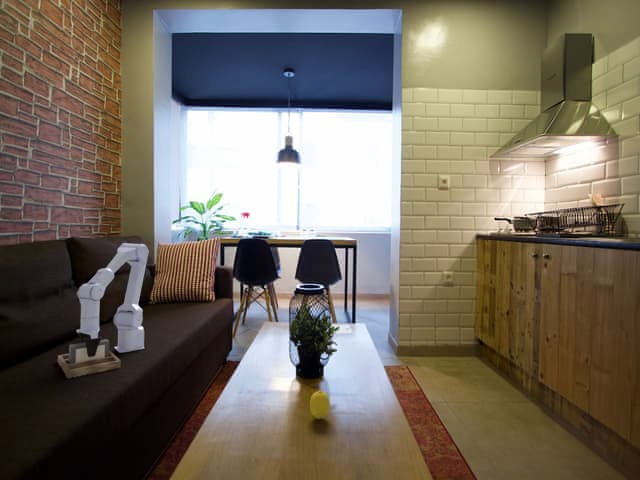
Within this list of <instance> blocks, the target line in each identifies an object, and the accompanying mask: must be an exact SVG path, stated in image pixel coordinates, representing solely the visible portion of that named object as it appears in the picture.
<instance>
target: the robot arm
mask: <svg viewBox="0 0 640 480" xmlns="http://www.w3.org/2000/svg"><path fill="white" fill-rule="evenodd" d="M149 252H150V251H149V249H148V247H147V245H146V244H143V243H127V242H123V243H122V244H120V246H119V247H118V248H117V253H116V254H115V256H114V257H113V258H112V259H111V261H110V262H109V263H108V264H107V266H106V267H105V268H100V269H98V270H97V271H96V273H95V275H94V276H93V277H92V278H91V279H90V280H89V281H88V282H87V283H83V284H82V285H81V286H79V288H78V291H77V292H76V295H77V297H78V299H79V303H80V328H79V329H76V333H77V335H78V336H79V338H80V342H81V343H85V344H86V348H87V355H88V357H93V356H95V355H96V351H97V348H98V345H99V343H100V341H101V340H103V336H99V331H100V306H101V305H100V303H101V301H100V300H101V299H102V298H103V296H105V291H106V290H107V289H106V288H107V286H108V285H109V284H110V283H111V282H112V281H113V280H114V278H115V273H116V272H117V271H118V270H119V269H120V268H121V267H122V266H123V265H124V264H125V263H127V264H129V265H130V272H129V277H128V282H127V286H126V291H125V296H124V301H123V303H122V305H120V306H119V307H118V308H117V310H116V313H115V314H114V316H113V324H114V325H115V326H116V329H117V346H114V350H116V351H117V352H118V353H127V352H132V351H138V350H143V349H145V329H144V327H143V326H142V323H143V319H144V318H143V317H144V316H143V312H144V311H143V310H144V309H143V308H141V307H140V305H139V301H140V296H141V292H142V287H143V281H144V277H145V273H146V272H145V271H146V267H147V263H148V257H149Z"/></svg>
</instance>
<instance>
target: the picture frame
mask: <svg viewBox="0 0 640 480" xmlns="http://www.w3.org/2000/svg"><path fill="white" fill-rule="evenodd" d="M109 350H110V340H109V339H107V338H105V339H101V341H100V343H99V345H98V348H97V351H96V355H95V356H93V357H88V355H87V348H86V344H85V343H73V344H69V349H68V354H69V364H72V363H78V362H83V361H89V360H94V359H99V358H105V357H109Z"/></svg>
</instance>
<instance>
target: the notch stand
mask: <svg viewBox="0 0 640 480" xmlns="http://www.w3.org/2000/svg"><path fill="white" fill-rule="evenodd" d="M57 363H58V366H59V367H60V366H61V367H60V368H62V369H61V370H62V372H63V371H64V372H63V374H64V373H65V374H64V375H65V376H66V379H67V378H68V379H71V378H72V377H73V378H77V376H78V377H81V376H82V375H83V376H87V374H88V375H91V374H96V373H102V372H106V371H111V370H115V369H120V368H121V363H122V361H121V359H120V358H118V357H117V356H116V355H115V354H114V353H113V352H112V351H111V350H110V349H109V357H105V358H99V359H94V360H89V361H83V362H78V363H72V364H69V353H65V354H60V355H57Z"/></svg>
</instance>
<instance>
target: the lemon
mask: <svg viewBox="0 0 640 480" xmlns="http://www.w3.org/2000/svg"><path fill="white" fill-rule="evenodd" d="M309 410H310V413H311V414H312V416H313V417H315V418H317V419H318V420H321V419H322V418H324V417H326V416H327V415H328V413H329V411H330V399H329V396H328V394H327V393H326V392H324V391H323V390H318V391H315V392H314V393H313V394H312V395H311V398H310V401H309Z"/></svg>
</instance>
